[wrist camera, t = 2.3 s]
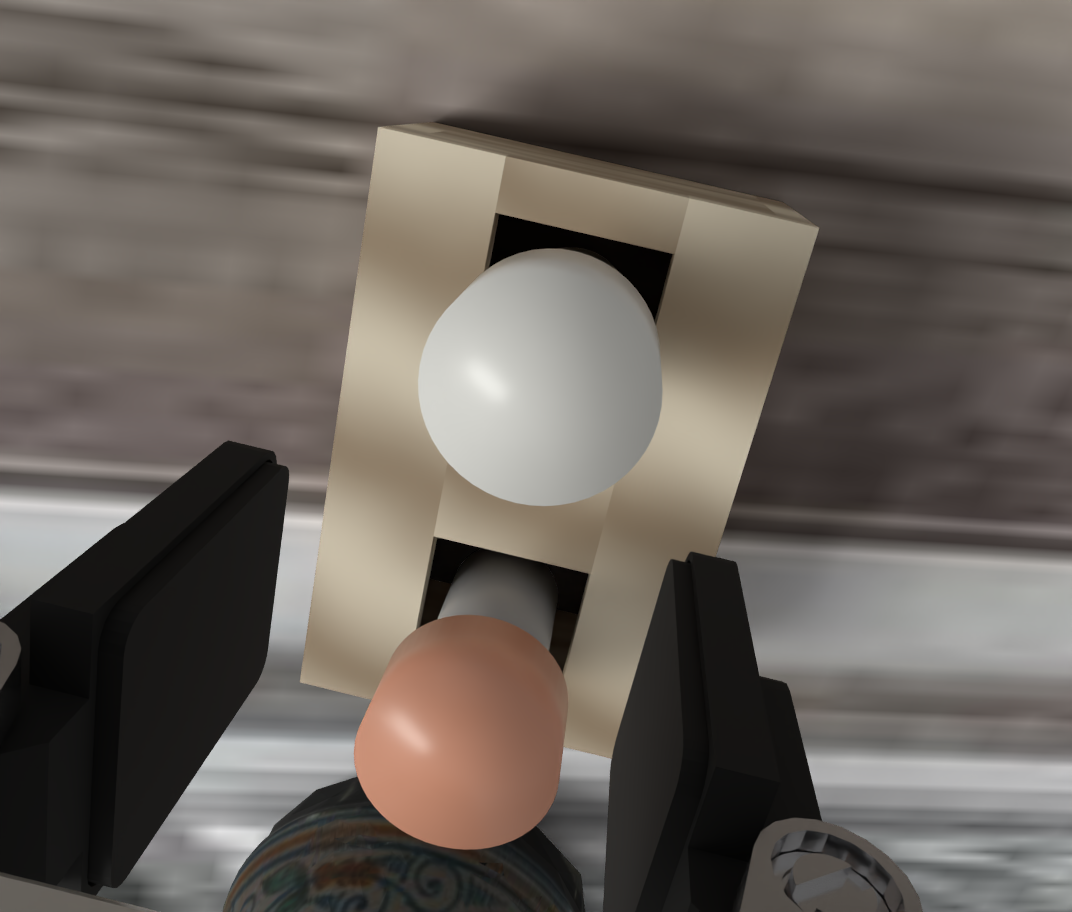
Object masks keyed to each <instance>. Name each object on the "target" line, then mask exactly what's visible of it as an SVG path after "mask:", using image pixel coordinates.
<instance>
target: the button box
mask: <svg viewBox="0 0 1072 912" xmlns="http://www.w3.org/2000/svg"><path fill="white" fill-rule="evenodd" d="M499 214H503V215H507V216H511V217H516V218H520V219H524V220H529V221H533V222H537V223H542V224H546V225H550V226H555V227H559V228H563V229H568V230H572V231H576V232H581V233H585V234H589V235H594V236H598V237H602V238H607V239H611V240H615V241H620V242H624V243H628V244H633V245H637V246H641V247H646V248H650V249H654V250H659V251H663V252H667V253H672V258H671V262H670V265H669V269H668V273H667V277H666V281H665V285H664V288H663V292H662V296H661V300H660V304H659V307H658V311H657V315H656V319H655V325H656V328H657V332H658V337H659V343H660V356H661V372H662V389H663V393H662V407H661V412H660V417H659V422H658V425H657V427H656V430H655V433H654V436H653V438H652V440H651V442H650V444H649V446H648V448H647V450H646V451H645V453H644V454H643V455H642V457H641V458H640V460H639V461H638V462H637V464H636V465H635V466H634V467H633V468H632V469H631V470H630V471H629V472H628V473H627V474H626V475H625V476H624V477H623V478H621V479H620V480H619V481H618V482H617V483H615V484H614V485H612V486H610V487H609V488H607V489H606V490H604V491H602V492H600V493H598V494H596V495H594V496H592V497H590V498H587V499H584V500H580V501H577V502H574V503H569V504H563V505H555V506H532V505H525V504H519V503H514V502H511V501H507V500H504V499H501V498H498V497H496V496H493V495H491V494H489V493H487V492H485V491H483V490H481V489H480V488H478V487H476V486H475V485H473V484H471V483H470V482H469V481H468V480H466V479H465V478H464V477H462V476H461V475H460V474H459V473H458V472H457V471H456V470H455V469H454V468H453V467H452V466H451V465H450V464H449V463H448V462H447V461H446V459H445V458H444V457H443V456H442V454H441V453H440V452H439V450H438V449H437V447H436V445H435V444H434V442H433V440H432V439H431V436H430V434H429V432H428V430H427V428H426V425H425V422H424V419H423V416H422V412H421V408H420V402H419V395H418V376H419V366H420V361H421V357H422V353H423V349H424V347H425V344H426V342H427V339H428V337H429V335H430V333H431V331H432V329H433V328H434V326H435V324H436V322H437V321H438V320H439V318H440V317H441V316H442V314H443V313H444V312H445V310H446V309H447V308H448V307H449V306H450V305H451V304H452V303H453V302H454V301H455V300H456V299H457V298H458V297H459V296H460V295H461V294H462V293H463V292H464V291H465V290H466V288H467V287H468V286H469V285H470V284H471V283H472V282H473V281H474V280H475V279H476V278H477V277H478V276H479V275H480V274H482V273H483V272H484V271H486V270H487V269H488V268H489V265H490V260H491V255H492V250H493V244H494V239H495V234H496V229H497V224H498V218H499ZM818 231H819V227H817V226H816V225H814V224H813V223H812V222H810V221H809V220H807V219H806V218H805V217H803V216H802V215H800V214H799V213H798V212H796V211H795V210H793V209H792V208H791V207H789V206H788V205H786V204H785V203H784V202H780V201H776V200H771V199H767V198H762V197H758V196H754V195H749V194H745V193H741V192H736V191H732V190H728V189H723V188H719V187H714V186H710V185H706V184H701V183H697V182H693V181H688V180H684V179H679V178H675V177H671V176H666V175H662V174H658V173H653V172H649V171H644V170H640V169H636V168H631V167H627V166H623V165H618V164H614V163H609V162H605V161H601V160H596V159H592V158H588V157H583V156H579V155H575V154H570V153H566V152H561V151H557V150H553V149H548V148H544V147H540V146H535V145H531V144H526V143H522V142H518V141H513V140H509V139H505V138H500V137H496V136H491V135H487V134H483V133H478V132H474V131H470V130H465V129H461V128H457V127H452V126H448V125H443V124H439V123H435V122H429V123H417V124H406V125H395V126H384V127H378V133H377V140H376V147H375V154H374V161H373V168H372V176H371V183H370V190H369V197H368V204H367V211H366V218H365V225H364V232H363V239H362V246H361V253H360V261H359V268H358V275H357V282H356V289H355V296H354V303H353V310H352V317H351V324H350V331H349V338H348V345H347V353H346V360H345V367H344V374H343V381H342V388H341V395H340V402H339V409H338V416H337V423H336V430H335V437H334V445H333V452H332V459H331V466H330V473H329V480H328V487H327V494H326V501H325V508H324V515H323V522H322V530H321V537H320V544H319V551H318V558H317V565H316V572H315V579H314V586H313V593H312V600H311V607H310V614H309V622H308V629H307V636H306V643H305V650H304V657H303V664H302V671H301V678H300V682H301V683H305V684H310V685H314V686H318V687H322V688H326V689H330V690H334V691H338V692H342V693H346V694H350V695H354V696H358V697H363V698H367V699H371V700H372V698H373V696H374V694H375V692H376V690H377V687H378V685H379V683H380V681H381V679H382V677H383V674H384V672H385V670H386V668H387V666H388V663H389V661H390V659H391V657H392V655H393V653H394V652H395V650H396V649H397V647H398V646H399V645H400V643H401V642H402V641H403V640H404V639H405V638H406V637H407V636H408V635H410V634H411V633H412V632H413V631H415V630H416V629H418V628H420V627H421V626H423V625H425V624H427V623H429V622H432V621H434V620H437V619H438V616H439V614H440V611H441V609H442V606H443V604H444V601H445V599H446V596H447V594H448V591H449V589H450V586H451V584H450V583H446V582H442V581H438V580H434V579H430V573H431V567H432V562H433V557H434V552H435V546H436V541H437V537H439V538H443V539H447V540H451V541H455V542H460V543H464V544H468V545H472V546H476V547H480V548H485V549H489V550H493V551H497V552H501V553H505V554H510V555H514V556H518V557H522V558H526V559H530V560H534V561H539V562H543V563H547V564H551V565H555V566H559V567H564V568H568V569H572V570H576V571H580V572H584V573H589V575H588V578H587V582H586V586H585V590H584V594H583V597H582V601H581V605H580V609H579V613H578V614H575V613H571V612H566V611H562V610H558V609H556V614H555V620H554V625H553V631H552V637H551V642H550V648H549V652H550V653H551V655H552V656H553V657H554V659H555V660H556V662H557V664H558V665H559V667H560V669H561V671H562V673H563V676H564V678H565V682H566V685H567V691H568V714H567V722H566V730H565V738H564V746H563V747H566V748H570V749H575V750H579V751H583V752H587V753H591V754H595V755H599V756H603V757H607V758H611V759H612V755H613V749H614V745H615V741H616V737H617V734H618V730H619V727H620V723H621V720H622V717H623V713H624V710H625V707H626V703H627V700H628V696H629V693H630V690H631V686H632V683H633V679H634V676H635V673H636V669H637V666H638V663H639V659H640V656H641V652H642V649H643V646H644V642H645V639H646V636H647V632H648V629H649V625H650V622H651V619H652V615H653V612H654V608H655V605H656V602H657V598H658V595H659V592H660V588H661V585H662V581H663V578H664V575H665V571H666V568H667V565H668V563H669V561H670V559H675V560H679V561H683V562H685V560H686V558H687V556H688V554H689V553H690V552H696V553H700V554H705V555H709V556H713V557H716V554H717V551H718V547H719V544H720V541H721V538H722V535H723V532H724V528H725V525H726V522H727V519H728V516H729V513H730V509H731V506H732V503H733V500H734V497H735V494H736V490H737V487H738V484H739V481H740V478H741V475H742V471H743V468H744V465H745V462H746V459H747V456H748V452H749V449H750V446H751V443H752V440H753V437H754V433H755V430H756V427H757V424H758V421H759V418H760V414H761V411H762V408H763V405H764V402H765V399H766V395H767V392H768V389H769V386H770V383H771V380H772V376H773V373H774V370H775V367H776V364H777V361H778V357H779V354H780V351H781V348H782V345H783V342H784V338H785V335H786V332H787V329H788V326H789V323H790V319H791V316H792V313H793V310H794V307H795V303H796V300H797V297H798V294H799V291H800V288H801V284H802V281H803V278H804V275H805V272H806V269H807V265H808V262H809V259H810V256H811V253H812V250H813V246H814V243H815V240H816V237H817V234H818Z"/></svg>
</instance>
